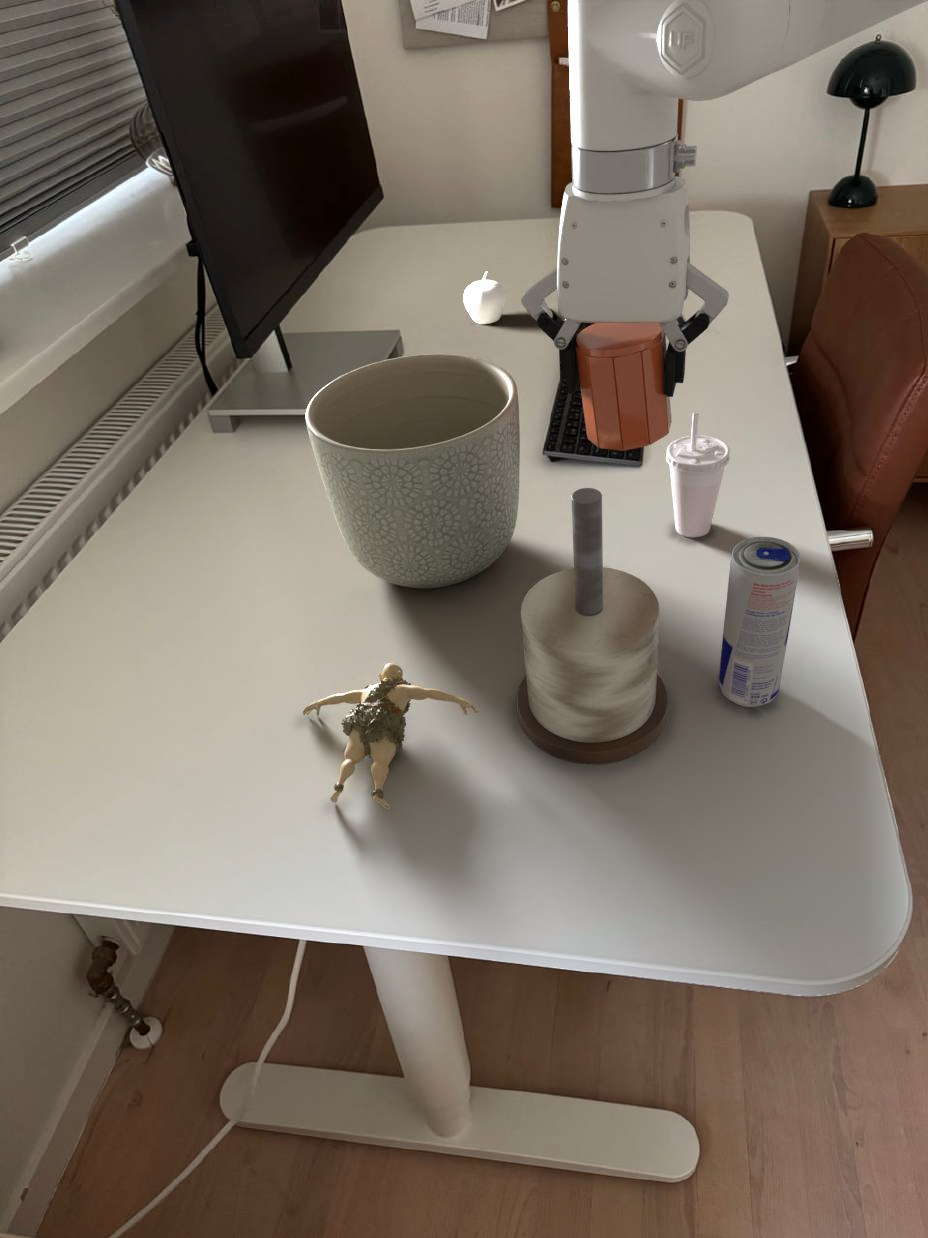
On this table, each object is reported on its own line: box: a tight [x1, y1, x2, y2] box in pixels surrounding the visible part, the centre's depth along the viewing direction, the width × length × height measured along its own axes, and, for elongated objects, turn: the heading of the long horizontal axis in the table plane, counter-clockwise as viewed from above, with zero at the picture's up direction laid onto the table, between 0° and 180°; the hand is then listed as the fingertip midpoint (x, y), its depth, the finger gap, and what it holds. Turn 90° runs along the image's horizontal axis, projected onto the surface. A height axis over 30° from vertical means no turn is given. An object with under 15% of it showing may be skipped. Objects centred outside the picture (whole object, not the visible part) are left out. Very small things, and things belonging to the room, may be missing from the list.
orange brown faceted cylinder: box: [576, 323, 673, 451], centre depth 77 cm, size 7×8×9 cm
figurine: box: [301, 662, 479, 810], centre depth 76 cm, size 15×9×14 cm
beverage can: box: [718, 536, 801, 708], centre depth 73 cm, size 5×5×15 cm
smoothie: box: [665, 410, 731, 538], centre depth 93 cm, size 6×6×14 cm
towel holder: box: [516, 487, 669, 765], centre depth 72 cm, size 13×13×22 cm
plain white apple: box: [463, 270, 507, 325], centre depth 147 cm, size 7×7×8 cm
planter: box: [305, 353, 521, 589], centre depth 93 cm, size 21×21×19 cm
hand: (621, 387), depth 77 cm, fingers closed on orange brown faceted cylinder, 7 cm apart
